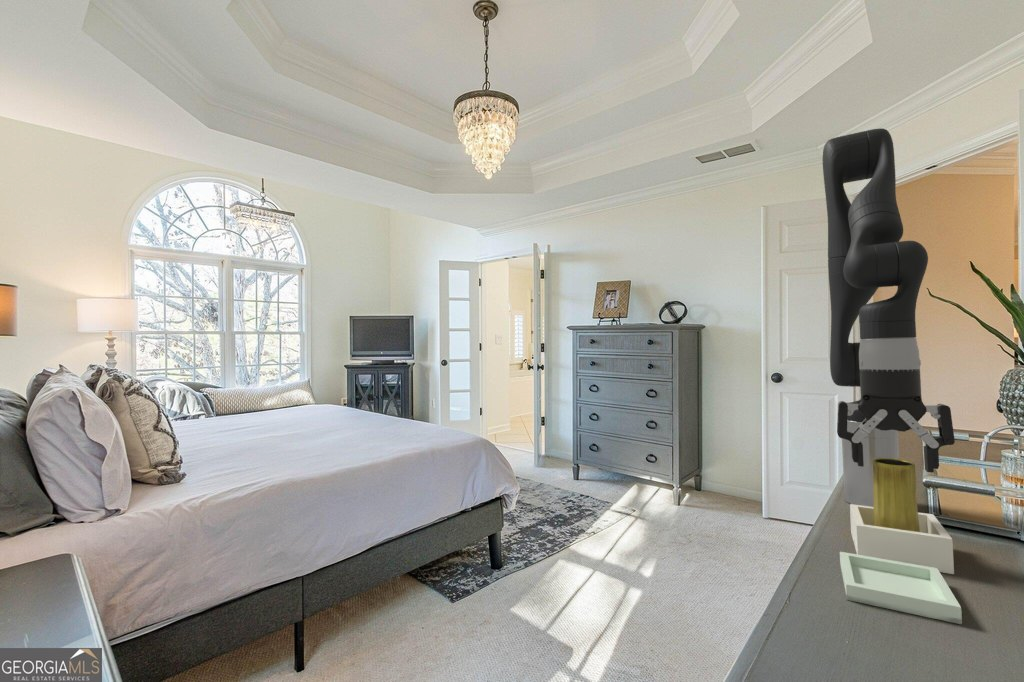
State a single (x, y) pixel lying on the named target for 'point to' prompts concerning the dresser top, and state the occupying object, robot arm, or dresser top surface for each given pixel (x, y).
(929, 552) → the sleeve
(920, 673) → the dresser top surface
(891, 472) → the vase
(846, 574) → the tray
